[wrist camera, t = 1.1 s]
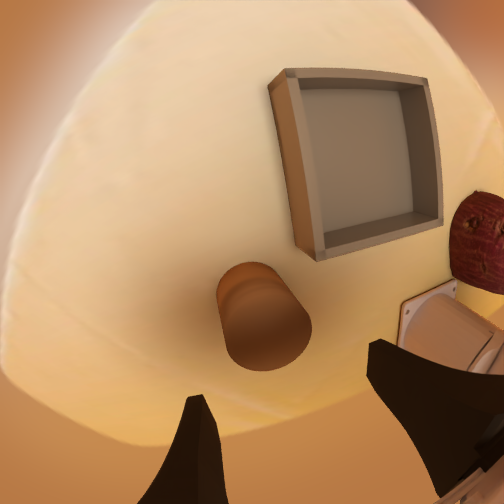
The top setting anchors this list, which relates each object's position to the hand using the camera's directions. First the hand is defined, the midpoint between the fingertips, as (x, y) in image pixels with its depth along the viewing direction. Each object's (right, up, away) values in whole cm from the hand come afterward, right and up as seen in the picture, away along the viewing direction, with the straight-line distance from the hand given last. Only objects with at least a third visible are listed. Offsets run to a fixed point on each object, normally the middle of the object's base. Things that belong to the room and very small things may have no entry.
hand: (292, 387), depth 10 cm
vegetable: (+22, +7, +12) cm, 26 cm away
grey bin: (+5, +12, +7) cm, 15 cm away
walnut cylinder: (-2, +3, +9) cm, 9 cm away
